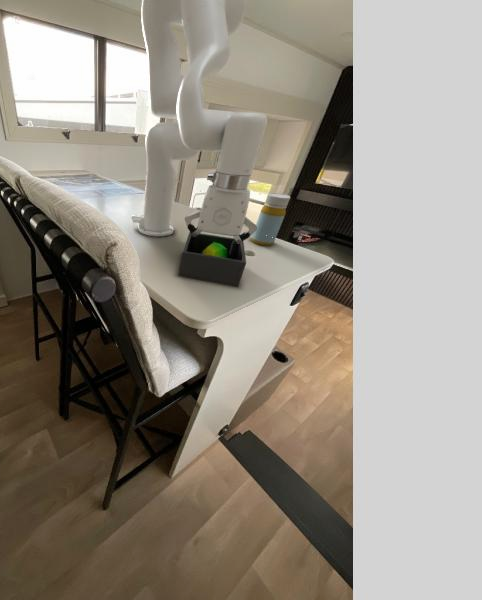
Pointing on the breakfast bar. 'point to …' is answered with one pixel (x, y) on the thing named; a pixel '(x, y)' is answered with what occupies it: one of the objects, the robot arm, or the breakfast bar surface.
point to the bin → (212, 261)
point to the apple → (215, 250)
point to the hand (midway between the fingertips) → (212, 252)
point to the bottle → (270, 219)
